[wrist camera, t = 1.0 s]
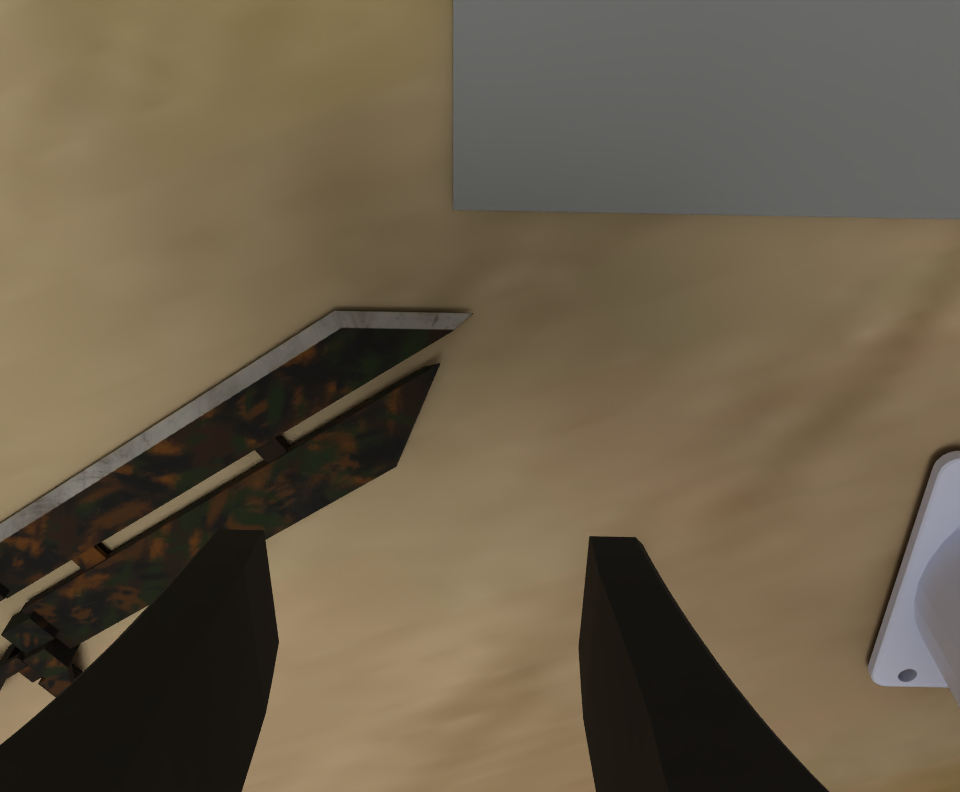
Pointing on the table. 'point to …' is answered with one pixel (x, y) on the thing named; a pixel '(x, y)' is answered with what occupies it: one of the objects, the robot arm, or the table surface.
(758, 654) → the table surface
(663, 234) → the table surface
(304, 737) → the table surface
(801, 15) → the mat
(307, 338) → the dark ornate flat tool
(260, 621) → the robot arm
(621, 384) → the table surface
